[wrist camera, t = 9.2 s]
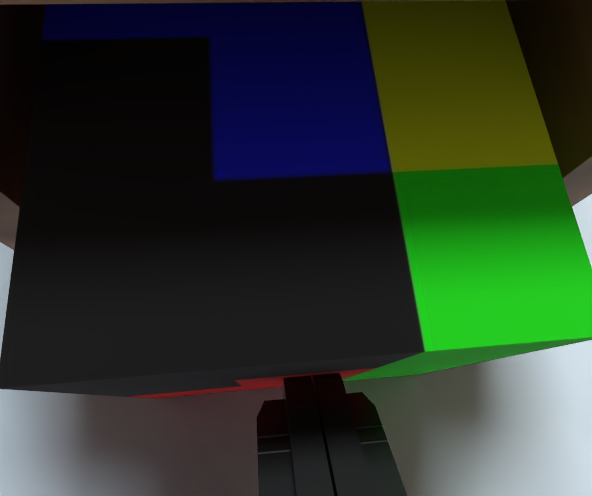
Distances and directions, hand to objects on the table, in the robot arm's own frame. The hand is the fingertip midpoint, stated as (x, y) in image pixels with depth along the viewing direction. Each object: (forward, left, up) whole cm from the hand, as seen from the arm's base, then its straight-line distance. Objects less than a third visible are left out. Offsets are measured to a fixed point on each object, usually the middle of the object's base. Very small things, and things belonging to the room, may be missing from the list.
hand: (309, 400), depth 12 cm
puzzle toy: (0, -6, -5) cm, 8 cm away
